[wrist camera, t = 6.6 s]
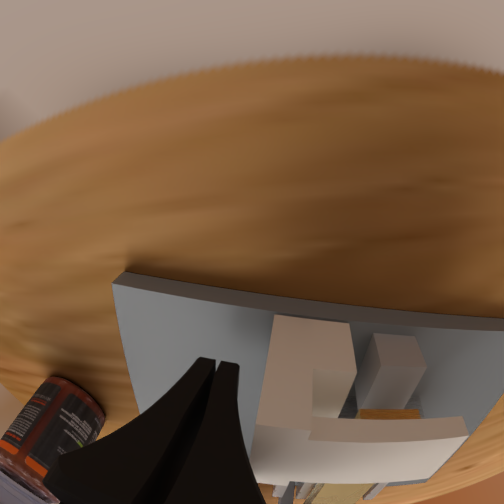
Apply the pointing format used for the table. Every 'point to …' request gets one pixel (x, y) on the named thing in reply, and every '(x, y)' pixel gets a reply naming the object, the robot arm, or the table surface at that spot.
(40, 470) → the supplement bottle
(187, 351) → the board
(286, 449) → the white l-shaped block
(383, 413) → the strap
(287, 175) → the table surface
